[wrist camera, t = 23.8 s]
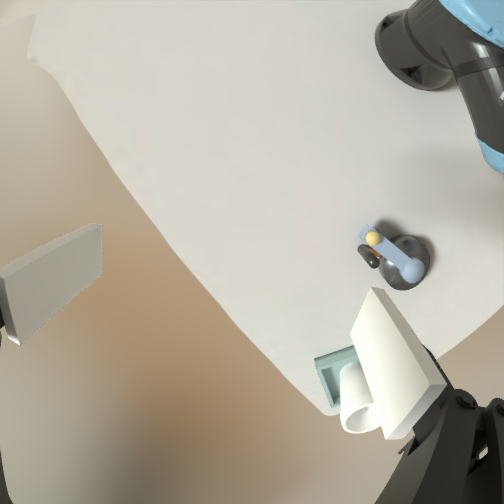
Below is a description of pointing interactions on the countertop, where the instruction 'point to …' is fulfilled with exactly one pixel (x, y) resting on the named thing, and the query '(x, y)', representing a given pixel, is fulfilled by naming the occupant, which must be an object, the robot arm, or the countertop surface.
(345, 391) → the foam cup
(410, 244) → the crank base
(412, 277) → the crank
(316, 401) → the countertop surface
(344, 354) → the tray
